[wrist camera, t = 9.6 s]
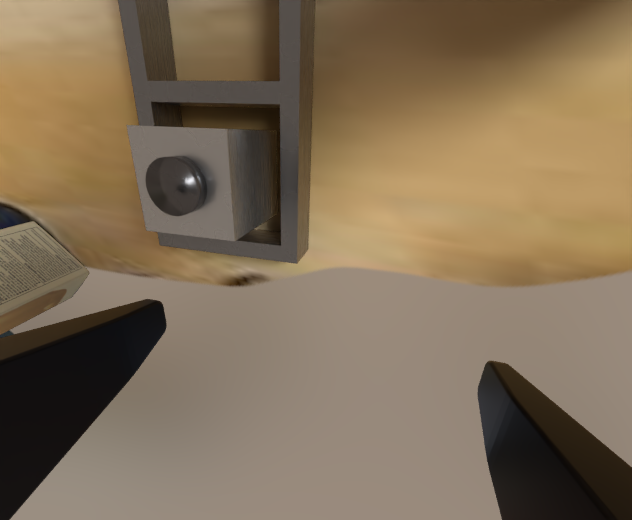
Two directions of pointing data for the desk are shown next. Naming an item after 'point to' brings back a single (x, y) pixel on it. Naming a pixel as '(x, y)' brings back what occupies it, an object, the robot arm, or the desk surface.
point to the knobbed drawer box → (205, 179)
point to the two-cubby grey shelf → (287, 94)
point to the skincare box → (34, 274)
